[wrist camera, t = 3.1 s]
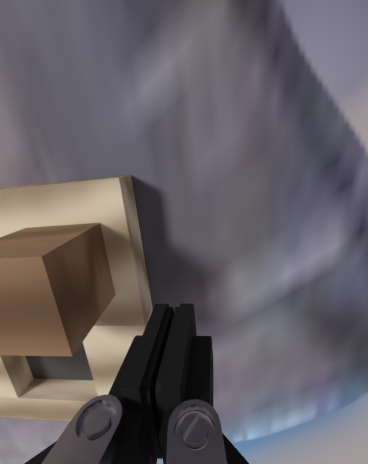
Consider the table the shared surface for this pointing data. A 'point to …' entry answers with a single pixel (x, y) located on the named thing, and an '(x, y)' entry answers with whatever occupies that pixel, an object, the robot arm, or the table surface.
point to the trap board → (112, 319)
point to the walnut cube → (52, 288)
